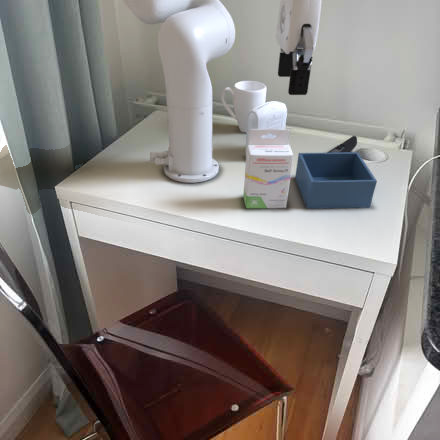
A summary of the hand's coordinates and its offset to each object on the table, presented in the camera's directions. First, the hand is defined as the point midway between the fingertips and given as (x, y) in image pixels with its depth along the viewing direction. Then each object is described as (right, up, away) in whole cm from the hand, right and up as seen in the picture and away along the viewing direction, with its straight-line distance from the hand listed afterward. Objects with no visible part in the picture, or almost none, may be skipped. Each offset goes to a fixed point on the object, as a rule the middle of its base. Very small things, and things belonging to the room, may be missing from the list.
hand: (291, 84), depth 81 cm
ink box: (-3, -18, +14) cm, 23 cm away
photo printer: (-2, -3, +31) cm, 31 cm away
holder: (+11, -15, +18) cm, 26 cm away
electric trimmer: (+16, -4, +31) cm, 35 cm away
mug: (-7, +8, +43) cm, 44 cm away
